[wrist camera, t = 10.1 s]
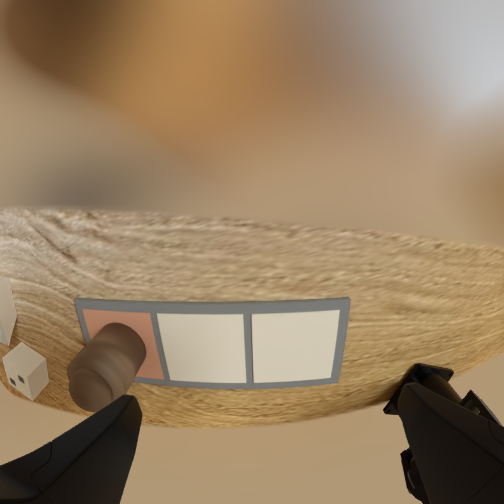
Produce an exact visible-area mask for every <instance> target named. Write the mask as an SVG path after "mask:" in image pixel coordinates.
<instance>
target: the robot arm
mask: <svg viewBox="0 0 504 504" xmlns="http://www.w3.org/2000/svg"><path fill="white" fill-rule="evenodd" d="M418 368H419V369H418ZM453 374H454V371H453V370H452V369H448V368H442V367H437V366H432V365H427V364H422V363H418V364H417V365H415V367H414V368H413V369H412V371H411V372H410V374H409V375H408V377H407V378H406V380H405V381H404V382H403V384H402V385H401V387H400V388H399V389H398V391H397V392H396V393H395V395H394V396H393V397H392V399H391V400H390V401H389V402H388V404H387V405H386V406H385V408H384V409H383V411H384V413H385V414H391V415H399V417H400V418H401V420H402V423H403V427H404V430H405V434H406V438H407V440H408V443H409V446H410V447H409V448H408V449H407V450H404V451H403V452H402V453H401V454H400V455H401V459H402V460H401V461H402V466H403V471H404V475H405V480H406V486H407V489H408V491H409V493H410V494H412V495H413V496H414V497H415V498H416V499H418V500H420V501H422V503H423V504H504V427H503V426H502V425H501V423H500V422H499V420H498V419H497V418H496V416H495V415H494V414H493V412H492V411H491V410H490V409H489V408H488V407H487V405H486V404H485V403H484V402H483V401H482V400H481V399H480V398H479V397H478V396H477V395H476V394H475V393H474V392H473V391H472V390H470V391H469V392H468V393H467V395H466V396H465V398H463V399H461V398H460V397H459V395H458V394H457V393H456V392H455V390H454V389H453V388H452V387H451V385H450V384H449V383H448V381H449V380H450V378H451V377H452V375H453ZM479 411H480V412H479ZM141 421H142V411H141V409H140V406H139V403H138V401H137V398H136V397H135V396H133V395H127V394H124V395H122V396H120V397H119V398H117V399H116V400H114V401H113V402H111V403H110V404H108V405H107V406H105V407H104V408H102V409H101V410H99V411H98V412H96V413H95V414H93V415H92V416H90V417H89V418H87V419H86V420H84V421H82V422H81V423H79V424H78V425H76V426H75V427H73V428H71V429H70V430H68V431H67V432H65V433H64V434H62V435H60V436H59V437H57V438H55V439H54V440H52V442H49V443H47V444H45V445H44V446H42V447H40V448H38V449H36V450H35V451H33V452H31V453H29V454H26V455H24V456H22V457H20V458H17V459H15V460H13V461H10V462H8V463H5V464H3V465H0V504H120V501H121V497H122V494H123V491H124V487H125V484H126V481H127V478H128V474H129V471H130V468H131V465H132V462H133V459H134V455H135V451H136V446H137V441H138V436H139V431H140V426H141Z"/></svg>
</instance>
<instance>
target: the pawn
mask: <svg viewBox="0 0 504 504" xmlns="http://www.w3.org/2000/svg"><path fill="white" fill-rule="evenodd" d="M145 358H146V347H145V344H144V342H143V340H142V338H141V337H140V336H139V335H138V333H137V332H135V331H134V330H133V329H132V328H130V327H129V326H127V325H125V324H122V323H116V322H113V323H109V324H107V325H105V326H104V327H103V328H102V329H101V330H100V331H99V332H98V333H97V334H96V335H95V336H94V337H93V338H92V340H91V341H90V342H89V343H88V344H87V345H86V346H85V347H84V348H83V349H82V350H81V351H80V353H79V354H78V355H77V356H76V357H75V358H74V359H73V360H72V361H71V362H70V364H69V365H68V369H67V373H68V378H69V392H70V395H71V397H72V399H73V401H74V402H75V403H76V404H77V405H78V406H79V407H80V408H82V409H84V410H86V411H89V412H98V411H99V410H101V409H102V408H104V407H105V406H107V405H108V404H110V403H111V402H113V401H114V400H116V399H117V398H119V397H120V396H122V395H124V394H126V393H127V391H128V389H129V387H130V385H131V384H132V382H133V380H134V378H135V376H136V374H137V373H138V371H139V369H140V367H141V365H142V364H143V362H144V360H145Z"/></svg>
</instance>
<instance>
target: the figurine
mask: <svg viewBox="0 0 504 504" xmlns="http://www.w3.org/2000/svg"><path fill="white" fill-rule="evenodd" d="M16 318H17V313H16V308H15V304H14V300H13V295H12V290H11V285H10V280H9V277H6V276H1V275H0V343H3V344H5V345H7V346H9V343H10V339H11V336H12V332H13V328H14V325H15V322H16Z"/></svg>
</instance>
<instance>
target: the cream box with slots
mask: <svg viewBox="0 0 504 504" xmlns="http://www.w3.org/2000/svg"><path fill="white" fill-rule="evenodd" d="M2 360H3V364H4V368H5V372H6V375H7V379H8V382H9V384H10V385H12V386H13V387H14V388H15V389H17V390H18V391H19V392H21V393H22V394H23V395H25V396H26V397H27V398H29V399H30V400H32V401H34V399H35V398H36V397H37V396H38V395H39V394H40V392H41V391H42V390H43V389H44V388H45V387H46V385H47V384H48V383H49V377H48V370H47V362H46V358H45V357H43V356H42V355H40V354H39V353H37V352H36V351H34V350H33V349H31V348H30V347H28V346H27V345H25V344H24V343H23V342H21V343H20V344H18V345H17V346H16V347H15V348H14V349H13V350H11V351H10V352H9V353H8V354H7V355H5V356H4V357H3V358H2Z"/></svg>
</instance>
